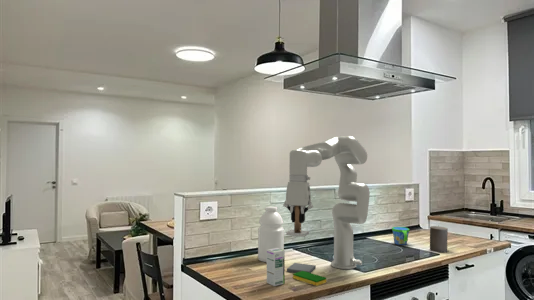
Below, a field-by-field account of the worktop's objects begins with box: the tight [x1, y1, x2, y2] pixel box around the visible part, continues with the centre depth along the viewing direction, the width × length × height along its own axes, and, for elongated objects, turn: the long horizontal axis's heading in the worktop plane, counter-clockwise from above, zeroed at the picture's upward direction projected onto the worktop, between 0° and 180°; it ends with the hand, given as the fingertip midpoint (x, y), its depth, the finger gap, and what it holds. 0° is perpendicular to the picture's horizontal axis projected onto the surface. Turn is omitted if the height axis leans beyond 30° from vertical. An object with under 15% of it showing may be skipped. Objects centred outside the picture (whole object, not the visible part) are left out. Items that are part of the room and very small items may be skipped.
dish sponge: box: [292, 271, 327, 287], centre depth 161 cm, size 7×14×2 cm, turn 44°
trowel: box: [285, 206, 310, 238], centre depth 154 cm, size 8×6×13 cm
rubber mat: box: [286, 262, 317, 274], centre depth 176 cm, size 11×11×2 cm
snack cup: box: [391, 226, 410, 246], centre depth 233 cm, size 16×10×10 cm
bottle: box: [257, 205, 285, 263], centre depth 195 cm, size 14×14×28 cm
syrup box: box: [266, 248, 286, 287], centre depth 157 cm, size 6×6×14 cm
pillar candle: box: [429, 225, 449, 253], centre depth 217 cm, size 10×10×15 cm
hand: (297, 222), depth 154 cm, fingers closed on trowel, 3 cm apart
